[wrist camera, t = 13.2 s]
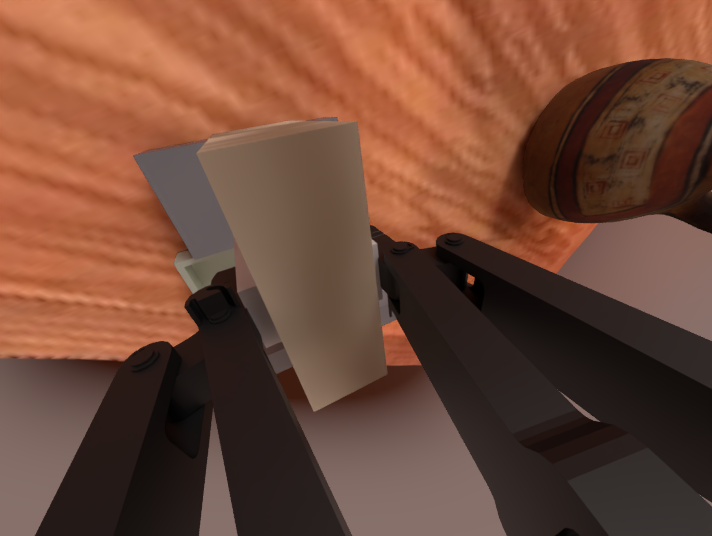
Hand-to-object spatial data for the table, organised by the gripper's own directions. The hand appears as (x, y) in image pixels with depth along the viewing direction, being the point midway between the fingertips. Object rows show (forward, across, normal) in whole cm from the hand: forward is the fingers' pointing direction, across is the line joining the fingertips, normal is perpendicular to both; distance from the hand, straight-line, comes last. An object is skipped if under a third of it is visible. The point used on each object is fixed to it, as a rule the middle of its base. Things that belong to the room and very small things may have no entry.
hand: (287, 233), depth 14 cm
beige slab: (0, 0, 0) cm, 1 cm away
